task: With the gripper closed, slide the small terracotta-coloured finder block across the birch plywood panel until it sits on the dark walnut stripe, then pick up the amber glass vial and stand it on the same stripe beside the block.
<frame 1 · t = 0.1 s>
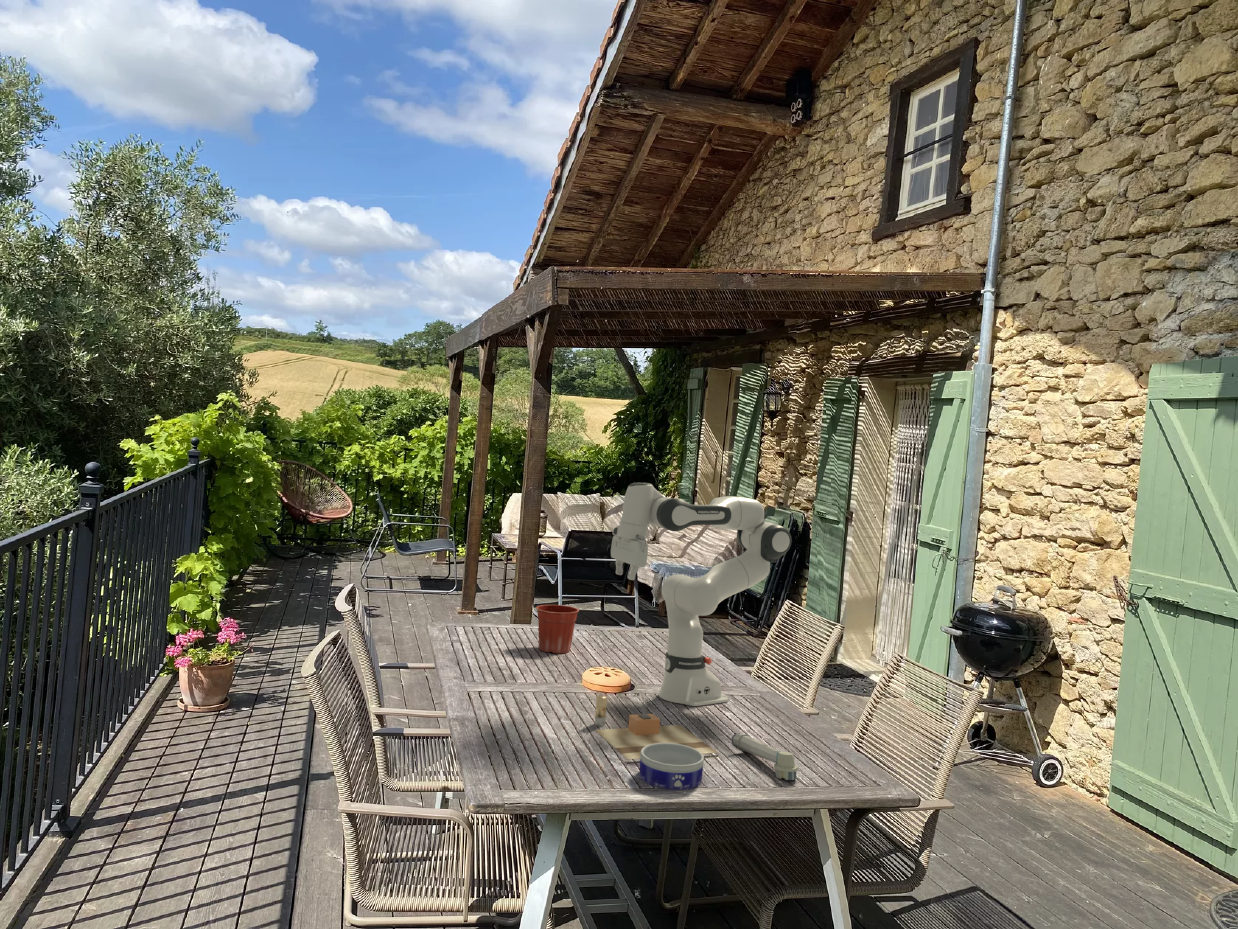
hand: (624, 577, 260), 39 cm above the table, fingers open, 8 cm apart
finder: (643, 731, 230), point 1 cm above the table, touching panel
amber glass vial: (599, 729, 233), on the table
dog bowl: (670, 779, 201), on the table
flower pot: (554, 650, 321), on the table
angle head flashlight: (763, 764, 216), on the table
panel: (655, 745, 223), on the table
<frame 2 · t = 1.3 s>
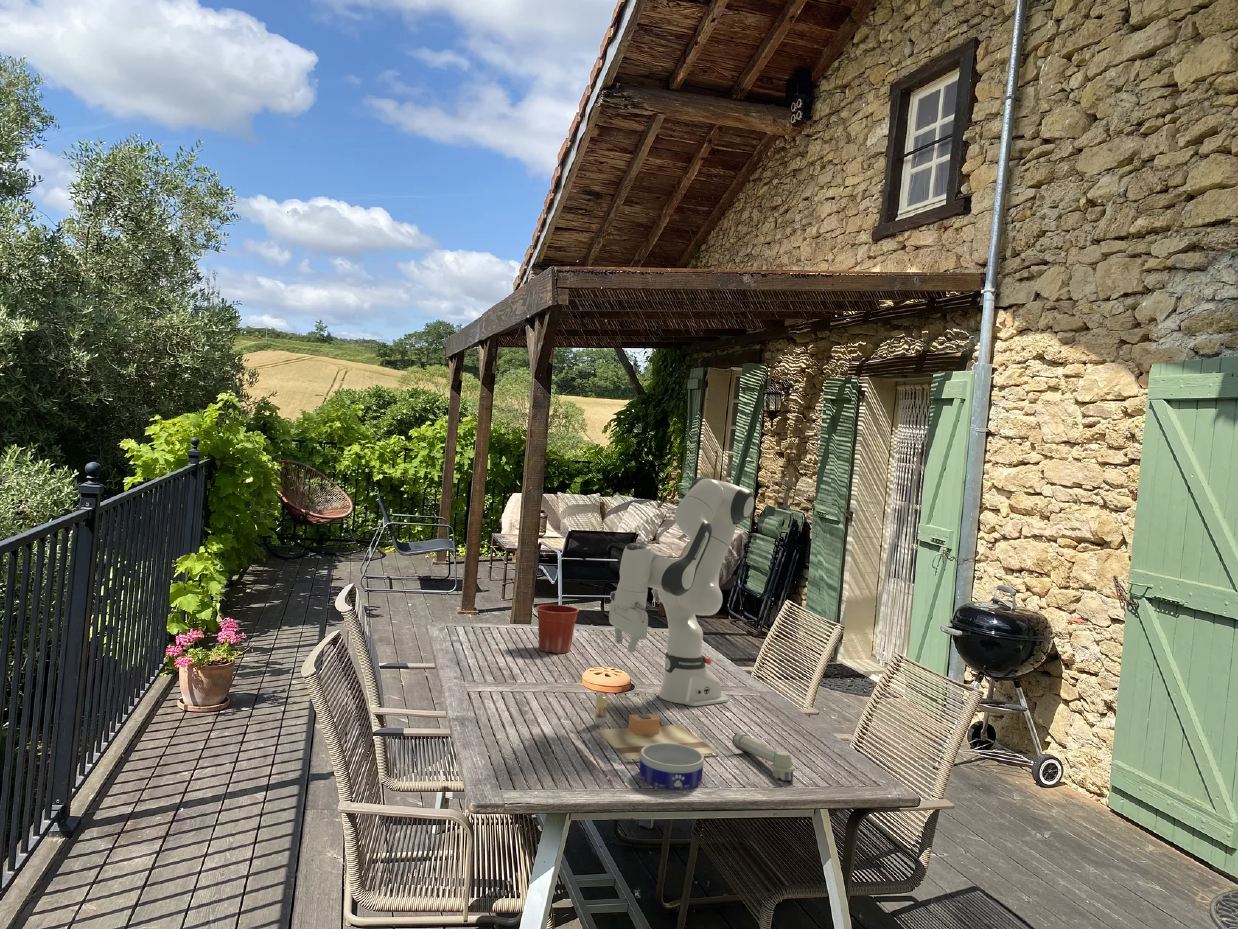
hand: (624, 647, 239), 22 cm above the table, fingers open, 8 cm apart
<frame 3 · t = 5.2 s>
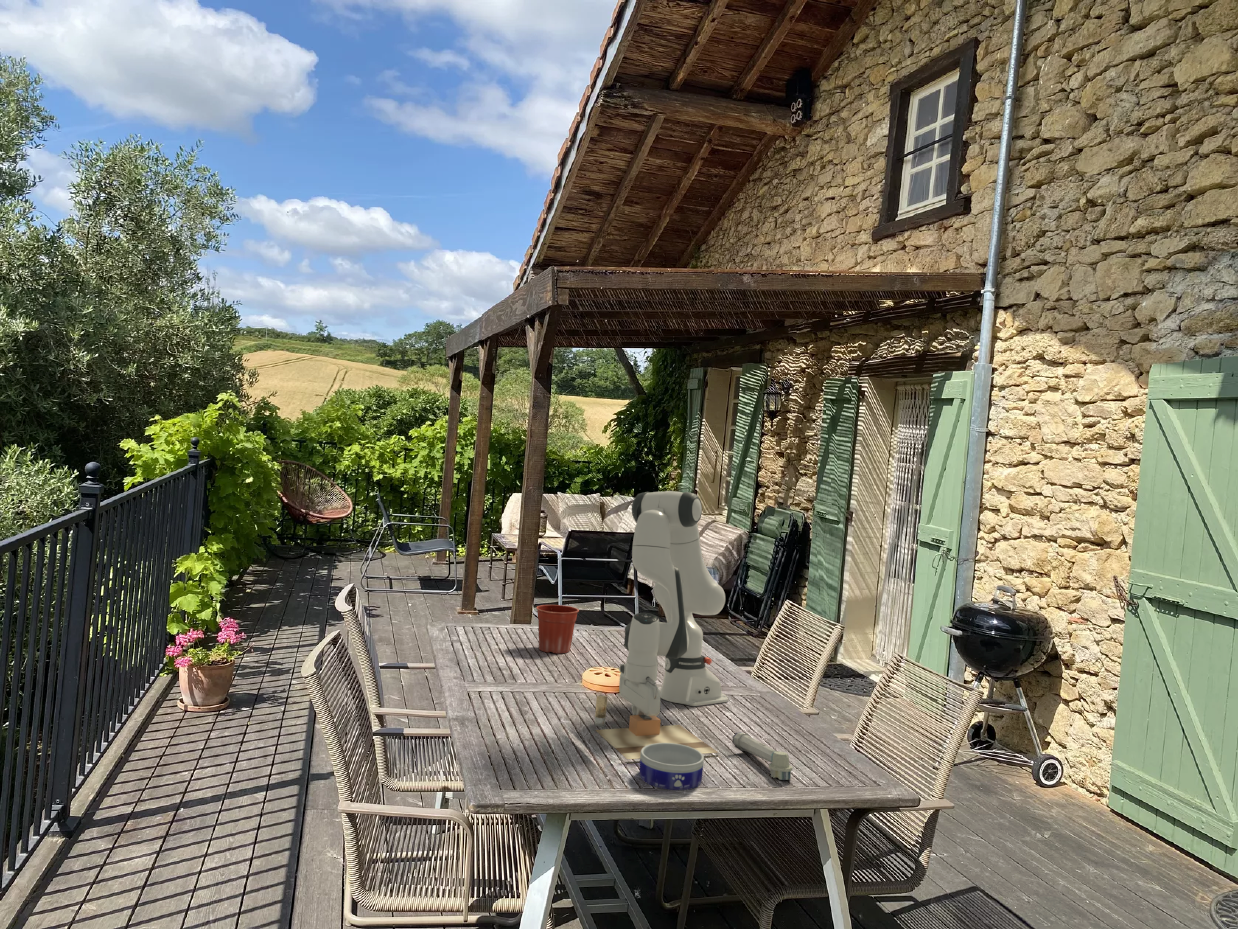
hand: (637, 722, 233), 3 cm above the table, fingers closed
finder: (644, 732, 229), point 1 cm above the table, touching gripper
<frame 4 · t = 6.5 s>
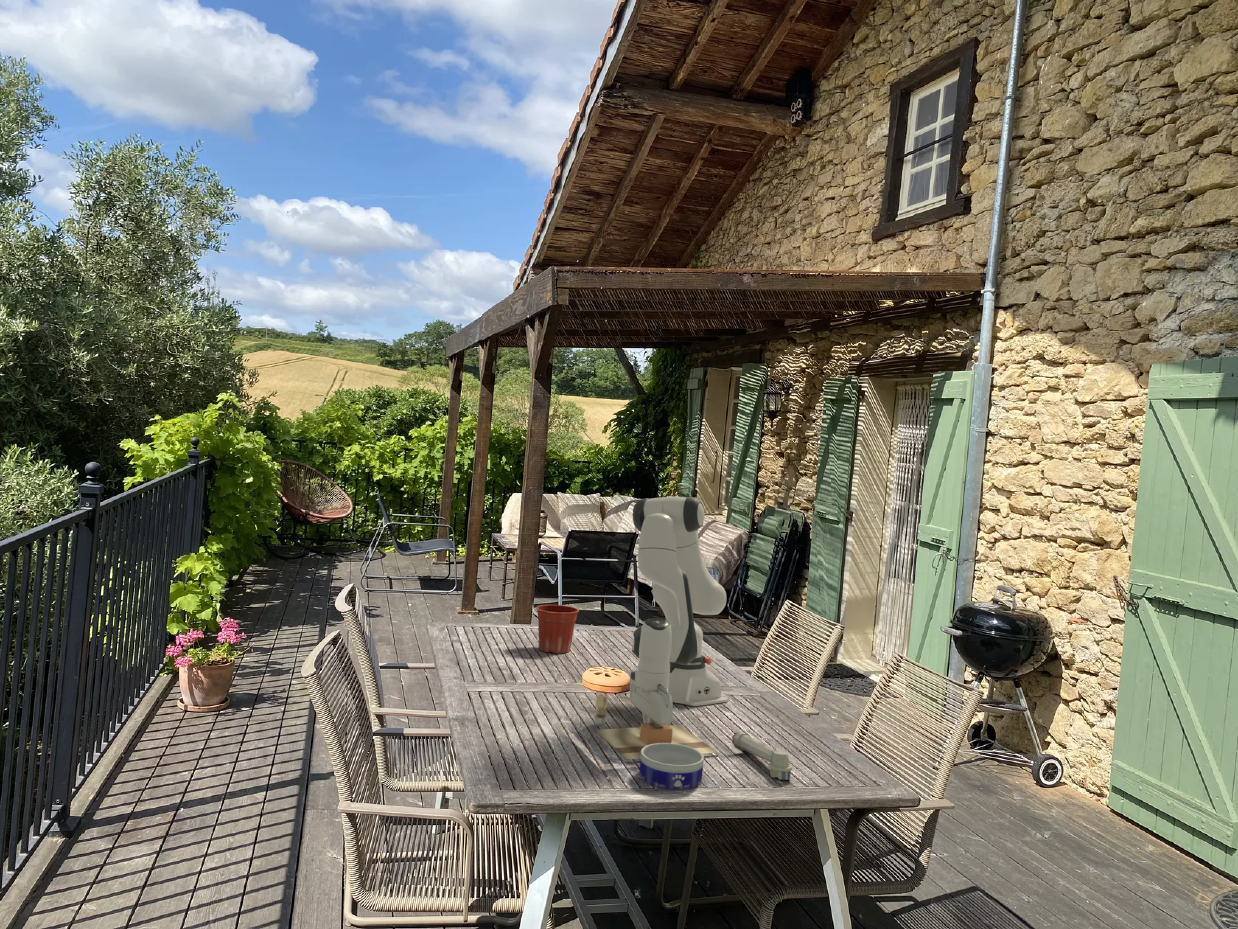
hand: (648, 730, 226), 3 cm above the table, fingers closed
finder: (655, 741, 222), point 1 cm above the table, touching gripper, panel
everything else where it was.
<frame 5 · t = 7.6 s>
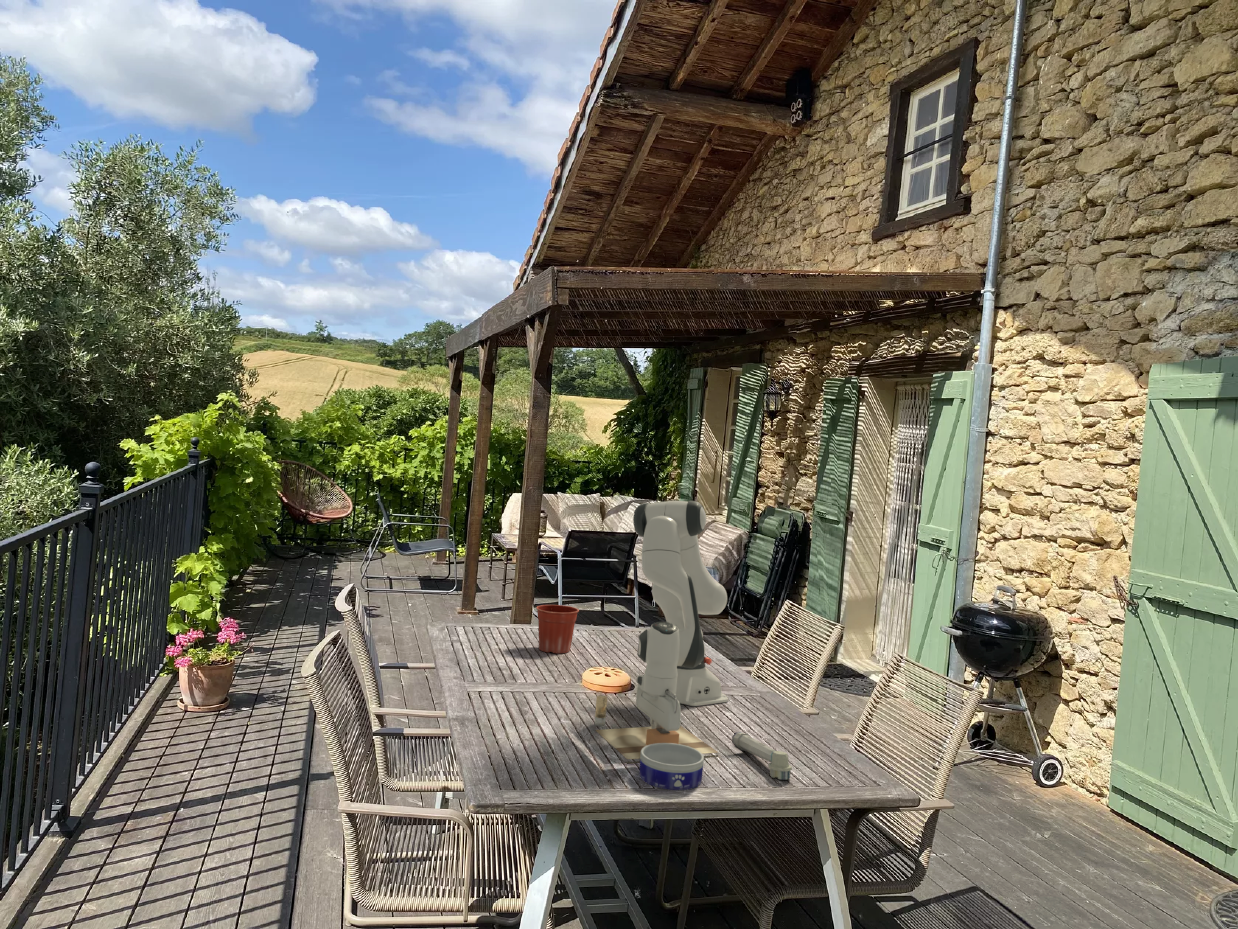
hand: (655, 736, 222), 3 cm above the table, fingers closed
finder: (661, 746, 219), point 1 cm above the table, touching gripper, panel
everything else where it was.
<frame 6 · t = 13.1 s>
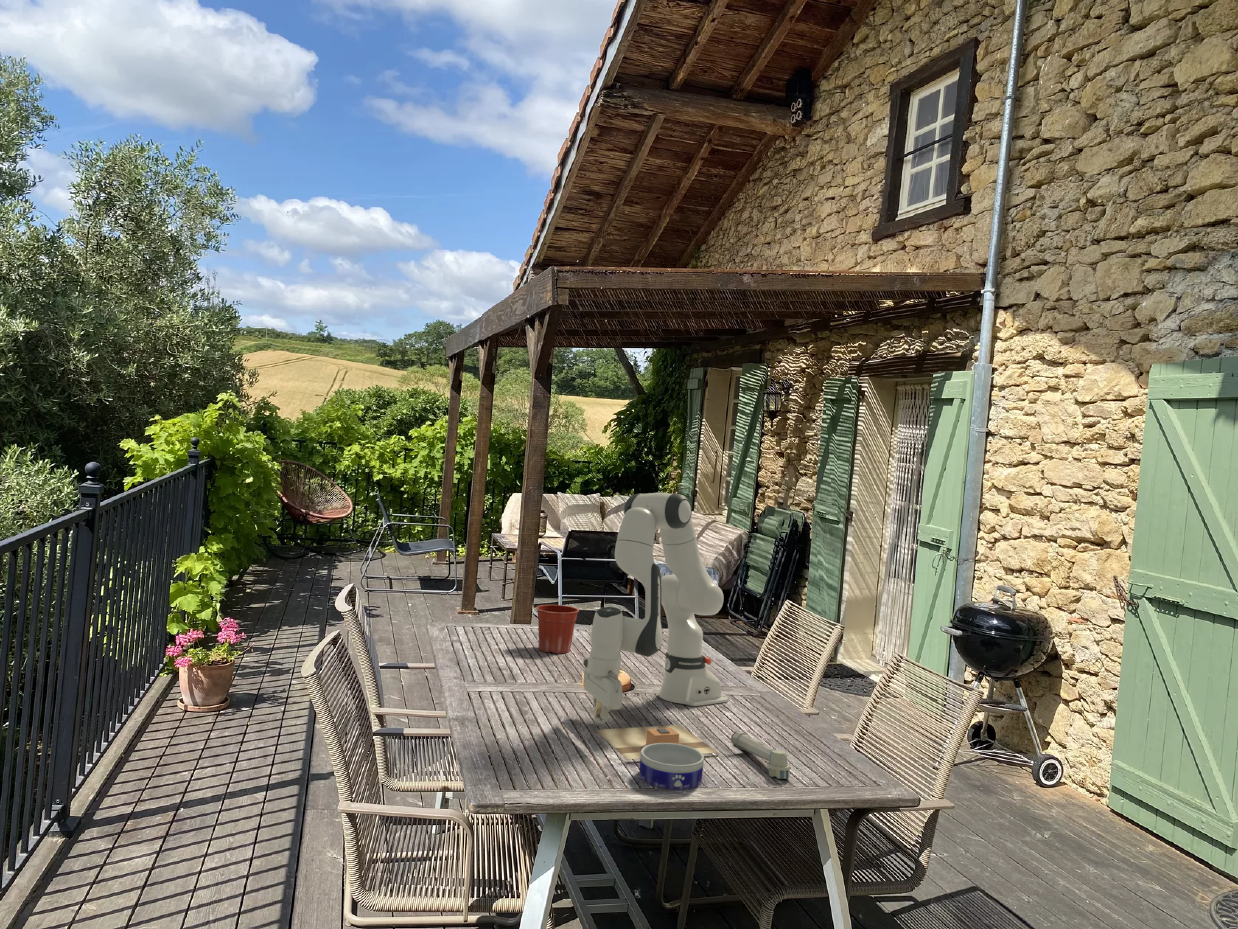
hand: (600, 716, 233), 4 cm above the table, fingers closed on amber glass vial, 3 cm apart
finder: (661, 746, 219), point 1 cm above the table, touching panel
amber glass vial: (599, 729, 233), on the table, touching gripper
when the fingers open (6 cm above the table, at t = 18.5 s): amber glass vial stays where it is, resting on panel.
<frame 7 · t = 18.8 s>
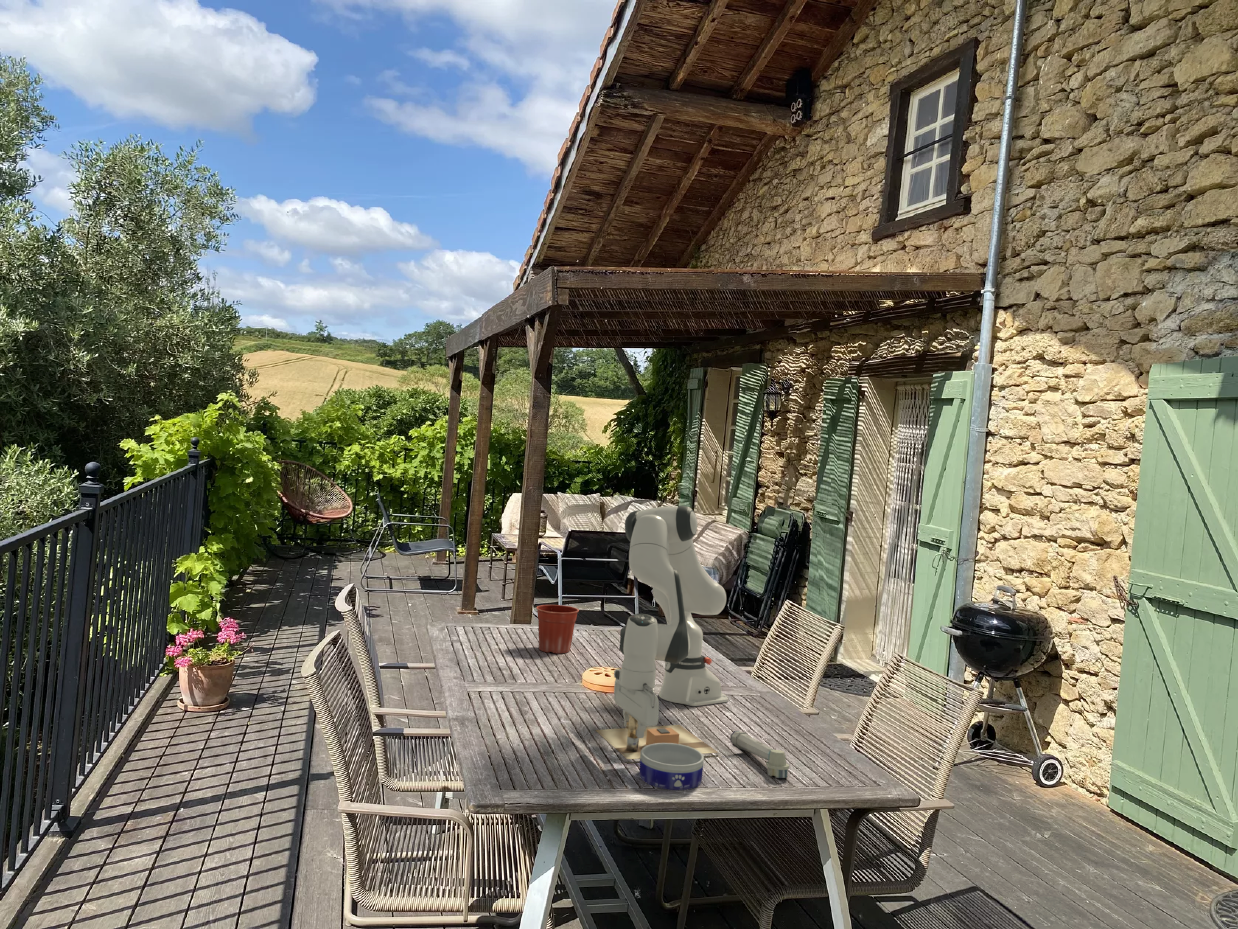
hand: (633, 732, 215), 6 cm above the table, fingers open, 6 cm apart
amber glass vial: (632, 749, 215), point 1 cm above the table, touching panel
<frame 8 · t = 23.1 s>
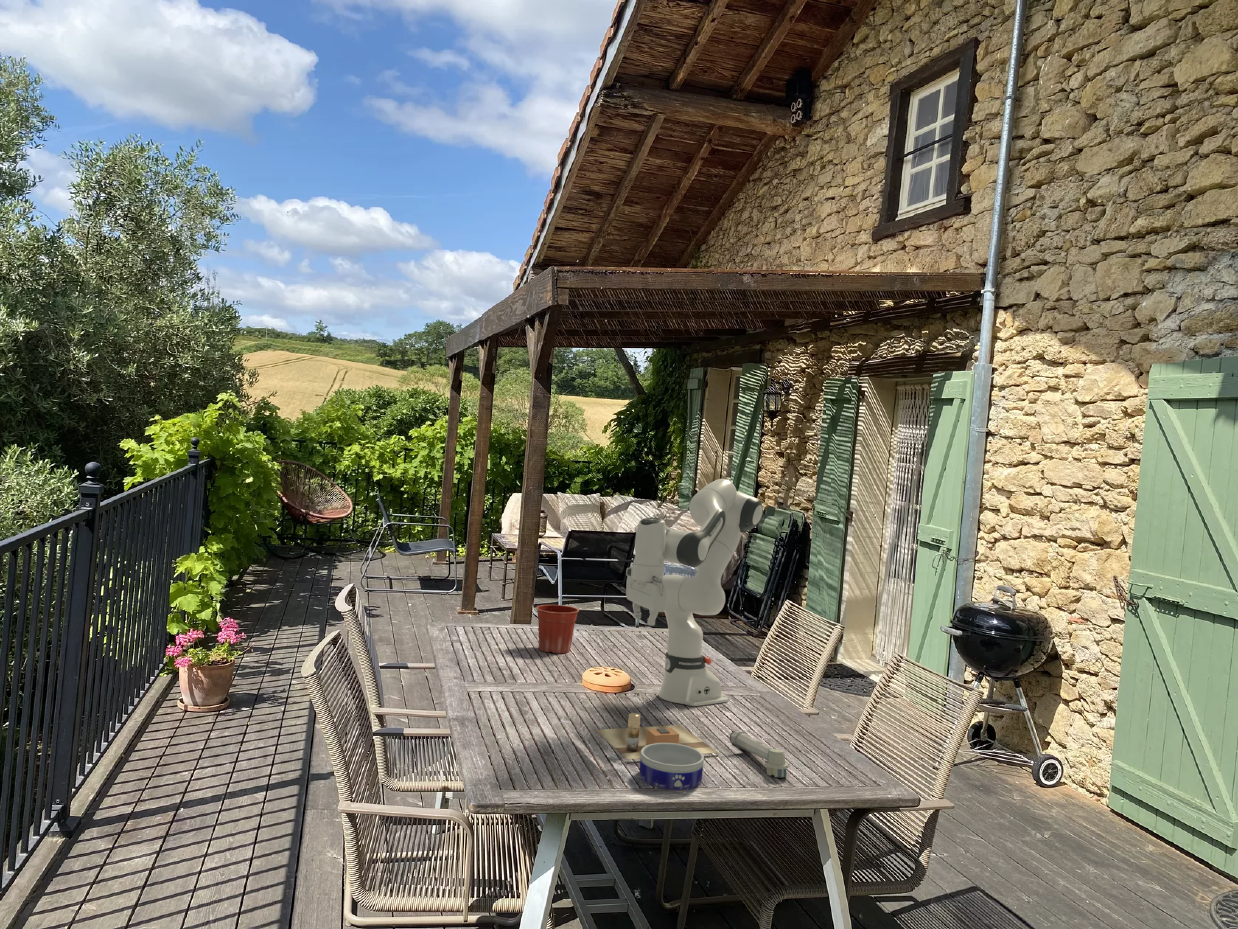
hand: (643, 621, 241), 29 cm above the table, fingers open, 8 cm apart
at the end: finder inside the target area (0.9 cm from its centre), point 1.2 cm above the table; amber glass vial inside the target area (1.1 cm from its centre), point 1.2 cm above the table; amber glass vial tilted 0° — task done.
